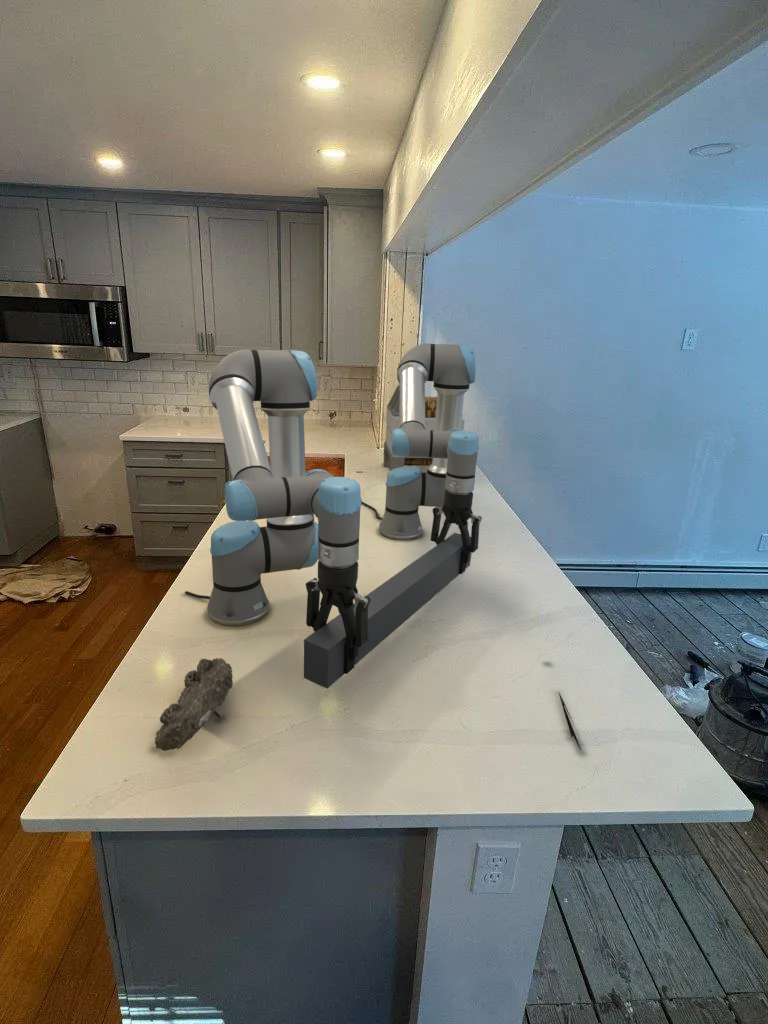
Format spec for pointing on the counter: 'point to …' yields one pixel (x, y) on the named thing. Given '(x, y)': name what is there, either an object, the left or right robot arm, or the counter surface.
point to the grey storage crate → (393, 423)
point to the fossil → (195, 703)
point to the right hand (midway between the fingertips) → (451, 568)
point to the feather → (569, 721)
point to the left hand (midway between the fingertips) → (335, 664)
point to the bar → (384, 610)
